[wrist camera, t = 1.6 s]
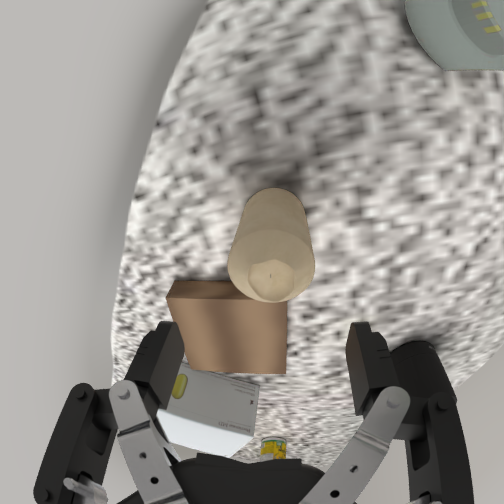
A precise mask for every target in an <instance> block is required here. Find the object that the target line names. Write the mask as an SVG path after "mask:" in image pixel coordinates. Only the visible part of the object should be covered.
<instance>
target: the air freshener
mask: <svg viewBox="0 0 504 504" xmlns="http://www.w3.org/2000/svg"><path fill="white" fill-rule="evenodd" d="M405 11H406V16H407V19H408V22H409V25H410V27H411V29H412V32H413V33H414V35H415V37H416V39H417V41H418V42H419V43H420V45H421V46H422V48H423V49H424V50H425V52H426V53H427V54H428V55H429V56H430V57H431V58H432V59H433V60H434V61H435V62H436V63H437V64H438V65H439V66H440V67H441V68H442V69H444V70H445V71H458V70H504V0H405Z"/></svg>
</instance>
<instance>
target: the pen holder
mask: <svg viewBox="0 0 504 504" xmlns="http://www.w3.org/2000/svg"><path fill="white" fill-rule="evenodd" d="M390 355H391V358H392V361H393V364H394V368H395V371H396V374H397V378H398V381H399V384H400V387H401V388H402V389H404V390H405V391H406V392H407V393H408V394H409V395H410V396H414V397H421V398H430V397H431V396H432V395H433V394H435V393H437V392H445V393H448V394H450V395H451V396H452V397H453V399H454V400H455V403H456V402H457V398H456V395H455V393H454V390H453V388H452V386H451V383H450V381H449V379H448V376H447V374H446V372H445V370H444V367H443V365H442V363H441V361H440V359H439V357H438V355H437V353H436V351H435V349H434V347H433V346H432V345H431V344H430V343H428V342H425V341H415V342H410V343H407V344H405V345H403V346H401V347H399V348H397V349H395V350H394V351H393V352H391V353H390Z"/></svg>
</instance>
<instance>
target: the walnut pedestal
mask: <svg viewBox="0 0 504 504" xmlns="http://www.w3.org/2000/svg"><path fill="white" fill-rule="evenodd" d="M166 300H167V304H168V307H169V310H170V313H171V316H172V319H173V322H176V323H177V324H178V327H179V330H180V333H181V336H182V339H183V342H184V346H185V351H184V352H185V355H186V357H187V360H188V363H189V365H190V368H191V369H192V370H203V371H215V372H231V373H254V374H286V352H287V300H286V301H282V302H262V301H258V300H255V299H252V298H250V297H248V296H246V295H245V294H243V293H242V292H241V291H240V290H239V289H238V288H237V287H236V286H235V285H234V284H233V282H232V281H174V283H173V285H172V287H171V289H170V290H169V292H168V294H167V296H166Z"/></svg>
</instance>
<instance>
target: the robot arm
mask: <svg viewBox="0 0 504 504" xmlns="http://www.w3.org/2000/svg"><path fill="white" fill-rule="evenodd" d="M184 351H185V346H184V342H183V339H182V336H181V333H180V330H179V327H178V324H177V323H176V322H170V321H160V322H159V324H158V326H157V328H156V330H155V331H150V332H149V333H148V334H147V335H146V336H145V337H144V338H143V340H142V342H141V344H140V346H139V348H138V350H137V352H136V355H135V357H134V359H133V361H132V363H131V365H130V367H129V370H128V372H127V374H126V376H125V378H124V380H121V381H118V382H116V383H115V384H114V385H113V386H112V387H111V388H110V389H100V390H94V389H93V388H92V386H91V385H89V384H87V383H80V384H77V385H76V386H74V387H73V388H72V390H71V391H70V393H69V396H68V398H67V400H66V402H65V405H64V407H63V409H62V412H61V414H60V416H59V419H58V421H57V424H56V426H55V429H54V431H53V434H52V436H51V439H50V442H49V444H48V447H47V450H46V452H45V455H44V458H43V461H42V464H41V467H40V470H39V473H38V476H37V479H36V483H35V486H34V490H33V491H34V492H33V494H34V498H35V501H36V502H37V504H107V502H108V498H107V494H106V491H105V490H104V488H103V487H102V483H103V479H104V475H105V471H106V468H107V464H108V460H109V457H110V453H111V450H112V446H113V443H114V439H115V436H116V433H117V429H119V431H120V433H119V434H118V435H117V437H118V441H119V444H120V446H121V449H122V452H123V455H124V458H125V460H126V463H127V465H128V468H129V470H130V472H131V475H132V477H133V480H134V482H135V484H136V486H137V488H138V490H137V491H136V492H135V493H133V494H131V495H130V496H128V497H127V498H125V499H124V500H122V501H121V502H119V503H117V504H357V503H356V502H355V500H356V499H357V498H358V496H359V495H360V493H361V492H362V491H363V489H364V488H365V487H366V485H367V484H368V482H369V481H370V479H371V478H372V476H373V474H374V473H375V472H376V470H377V469H378V467H379V465H380V464H381V462H382V460H383V459H384V457H385V456H386V454H387V452H388V450H389V445H390V443H391V441H392V439H399V440H405V447H406V455H407V464H408V476H409V490H410V502H409V503H408V504H474V495H473V486H472V478H471V471H470V465H469V459H468V454H467V448H466V444H465V439H464V434H463V430H462V426H461V422H460V418H459V414H458V410H457V407H456V403H455V400H454V399H453V397H452V396H451V395H450V394H448V393H445V392H437V393H435V394H433V395H432V396H431V397H430V398H421V397H414V396H410V395H409V394H408V393H407V392H406V391H405V390H404V389H402V388H401V387H400V384H399V381H398V378H397V374H396V371H395V368H394V364H393V361H392V358H391V355H390V352H389V351H388V346H387V343H386V340H385V339H384V337H383V336H382V335H381V334H380V333H379V332H372V331H371V328H370V325H369V323H368V322H352V323H351V326H350V330H349V335H348V339H347V343H346V360H347V365H348V370H349V376H350V382H351V388H352V394H353V400H354V407H355V414H356V416H359V415H363V419H364V421H363V423H362V424H361V426H360V427H359V429H358V430H357V432H356V433H355V434H354V436H353V437H352V439H351V440H350V441H349V443H348V444H347V446H346V447H345V448H344V450H343V451H342V453H341V454H340V455H339V457H338V458H337V459H336V461H335V462H334V463H333V464H332V466H331V467H330V468H329V469H328V471H327V472H326V473H324V472H323V471H321V470H320V469H318V468H316V467H313V466H310V465H307V464H302V463H301V459H272V460H267V461H262V462H257V463H251V464H247V463H243V462H239V461H236V460H233V459H230V458H227V457H224V456H219V455H211V454H203V453H197V457H196V458H191V459H186V460H183V461H181V460H180V457H179V456H178V454H177V453H176V452H175V450H174V448H173V447H172V445H171V443H170V441H169V439H168V437H167V435H166V433H165V431H164V429H163V427H162V425H161V423H160V421H159V418H158V416H157V412H158V409H164V410H167V407H168V403H169V400H170V397H171V394H172V390H173V387H174V384H175V381H176V378H177V375H178V372H179V369H180V365H181V362H182V359H183V356H184Z"/></svg>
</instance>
